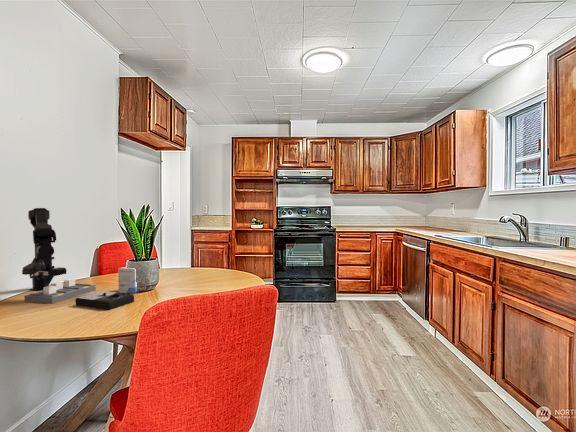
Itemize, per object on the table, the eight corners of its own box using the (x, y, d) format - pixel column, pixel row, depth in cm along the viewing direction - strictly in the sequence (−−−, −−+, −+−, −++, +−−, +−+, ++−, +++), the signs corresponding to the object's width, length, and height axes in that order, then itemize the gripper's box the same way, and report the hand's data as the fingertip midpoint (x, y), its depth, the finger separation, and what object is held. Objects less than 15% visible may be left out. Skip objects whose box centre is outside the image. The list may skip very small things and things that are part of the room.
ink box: (140, 290, 169) (140, 266, 169) (134, 293, 164) (134, 268, 164) (124, 290, 170) (123, 266, 170) (118, 292, 165) (117, 268, 165)
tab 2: (50, 289, 160) (50, 283, 160) (57, 288, 163) (57, 281, 163) (56, 290, 159) (56, 283, 159) (62, 288, 163) (62, 282, 163)
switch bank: (24, 301, 151) (24, 294, 151) (70, 288, 174) (70, 282, 174) (52, 303, 147) (52, 296, 147) (95, 290, 171) (95, 284, 170)
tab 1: (43, 294, 152) (43, 287, 152) (50, 292, 156) (50, 285, 156) (49, 294, 151) (48, 287, 151) (56, 292, 155) (56, 285, 155)
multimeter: (109, 311, 137) (109, 299, 137) (75, 306, 144) (74, 294, 144) (134, 302, 149) (134, 291, 149) (102, 298, 156) (101, 287, 156)
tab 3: (63, 286, 167) (63, 280, 167) (70, 284, 170) (70, 278, 170) (69, 286, 166) (68, 280, 166) (75, 285, 169) (75, 279, 169)
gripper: (9, 257, 148) (10, 293, 148) (44, 258, 144) (45, 295, 144) (34, 253, 159) (34, 287, 159) (67, 255, 154) (67, 289, 155)
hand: (44, 290), depth 154 cm, fingers closed
